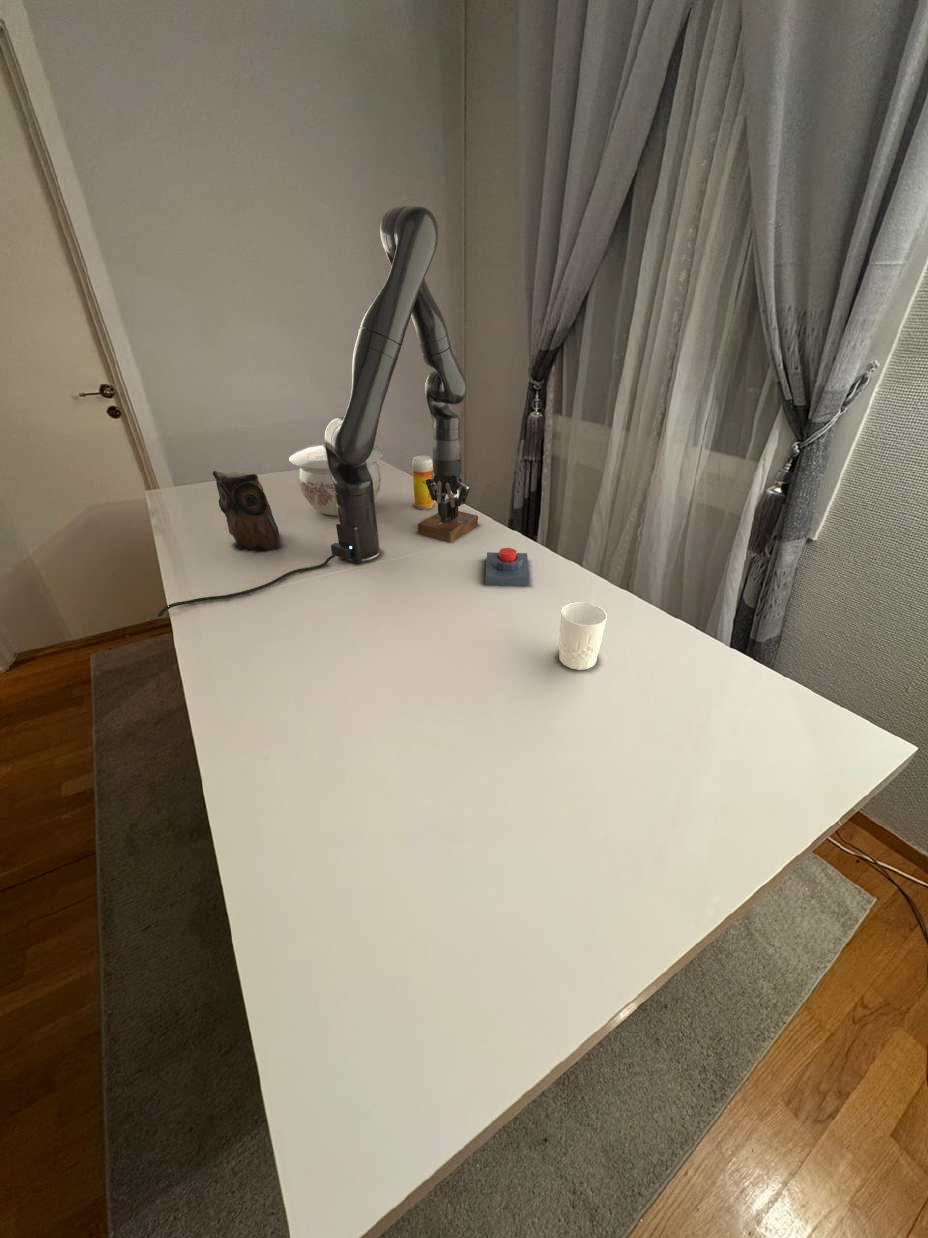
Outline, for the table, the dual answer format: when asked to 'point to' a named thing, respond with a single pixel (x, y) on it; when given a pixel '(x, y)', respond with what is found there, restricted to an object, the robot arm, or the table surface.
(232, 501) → the owl
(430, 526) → the dial panel
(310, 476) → the chamber pot
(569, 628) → the white cup
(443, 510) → the dial knob
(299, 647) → the table surface
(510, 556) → the press knob
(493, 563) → the button box
